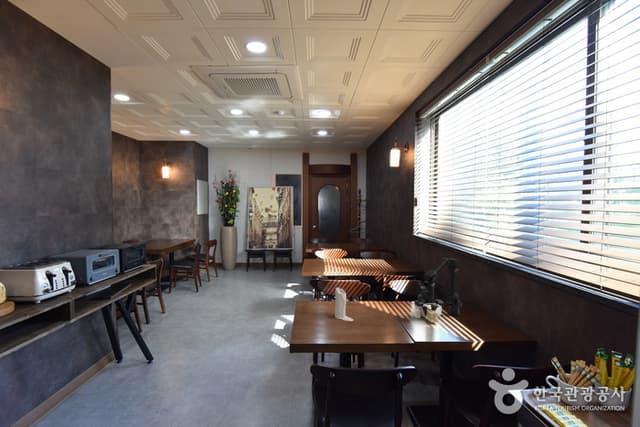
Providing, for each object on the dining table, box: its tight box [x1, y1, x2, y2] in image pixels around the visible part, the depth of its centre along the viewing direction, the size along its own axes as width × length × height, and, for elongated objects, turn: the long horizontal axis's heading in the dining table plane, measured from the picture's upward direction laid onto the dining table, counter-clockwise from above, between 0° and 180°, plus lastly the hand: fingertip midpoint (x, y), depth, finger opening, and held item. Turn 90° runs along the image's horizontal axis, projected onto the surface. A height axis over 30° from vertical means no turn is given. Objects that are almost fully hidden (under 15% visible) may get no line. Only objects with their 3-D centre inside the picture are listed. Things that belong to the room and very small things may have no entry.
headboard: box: [413, 304, 443, 319], centre depth 222 cm, size 21×6×9 cm, turn 100°
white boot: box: [334, 287, 354, 322], centre depth 214 cm, size 7×14×20 cm, turn 53°
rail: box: [420, 307, 439, 323], centre depth 214 cm, size 4×16×6 cm, turn 10°
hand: (428, 315), depth 213 cm, fingers closed on rail, 4 cm apart
